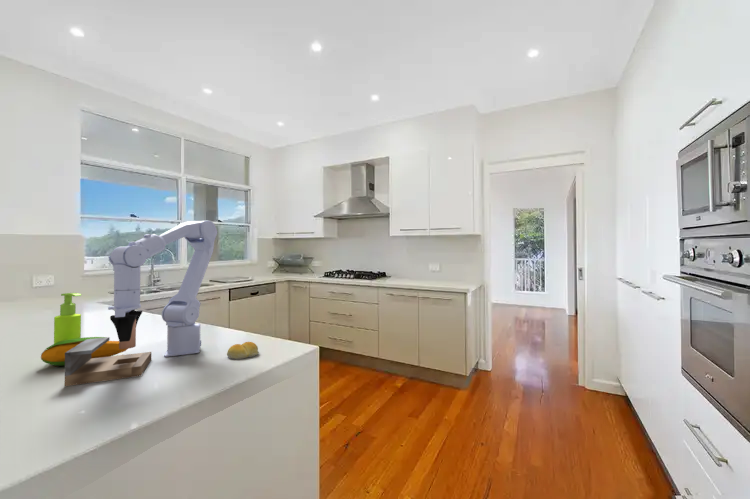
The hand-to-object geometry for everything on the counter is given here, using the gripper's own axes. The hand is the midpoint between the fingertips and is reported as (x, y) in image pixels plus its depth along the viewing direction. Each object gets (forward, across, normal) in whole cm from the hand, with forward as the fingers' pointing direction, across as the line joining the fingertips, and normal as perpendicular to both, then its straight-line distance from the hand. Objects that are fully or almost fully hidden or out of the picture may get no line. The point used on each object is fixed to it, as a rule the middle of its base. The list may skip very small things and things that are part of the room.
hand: (126, 339), depth 87 cm
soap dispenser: (+8, -20, -18) cm, 29 cm away
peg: (+2, 0, 0) cm, 2 cm away
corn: (+9, -14, -12) cm, 20 cm away
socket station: (+8, 0, -2) cm, 9 cm away
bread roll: (+9, 0, +30) cm, 31 cm away
